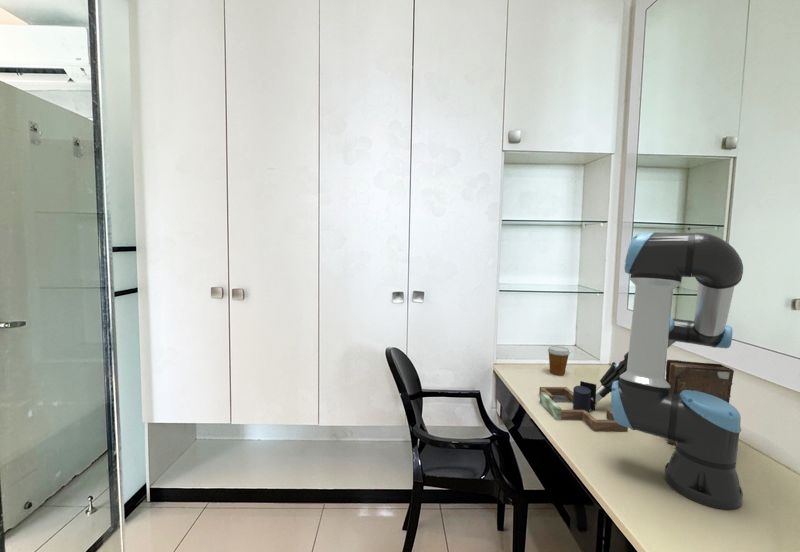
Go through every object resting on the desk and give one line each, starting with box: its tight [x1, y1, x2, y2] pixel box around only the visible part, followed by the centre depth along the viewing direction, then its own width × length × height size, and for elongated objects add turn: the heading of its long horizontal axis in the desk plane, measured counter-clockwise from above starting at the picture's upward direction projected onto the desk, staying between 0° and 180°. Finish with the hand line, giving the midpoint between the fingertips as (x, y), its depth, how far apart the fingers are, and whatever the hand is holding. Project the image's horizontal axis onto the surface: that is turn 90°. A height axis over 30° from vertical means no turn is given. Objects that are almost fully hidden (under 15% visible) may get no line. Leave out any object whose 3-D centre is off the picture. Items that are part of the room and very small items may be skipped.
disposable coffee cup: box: [547, 345, 571, 377], centre depth 171 cm, size 10×10×12 cm
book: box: [665, 359, 735, 445], centre depth 112 cm, size 17×7×25 cm, turn 75°
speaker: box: [572, 380, 597, 414], centre depth 133 cm, size 8×6×10 cm
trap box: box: [538, 386, 629, 432], centre depth 133 cm, size 29×22×4 cm
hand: (592, 400), depth 134 cm, fingers closed
